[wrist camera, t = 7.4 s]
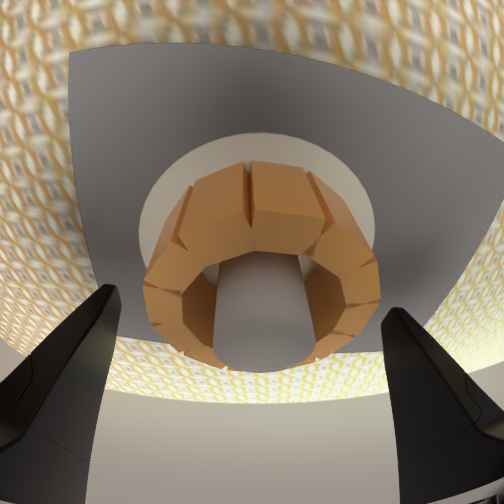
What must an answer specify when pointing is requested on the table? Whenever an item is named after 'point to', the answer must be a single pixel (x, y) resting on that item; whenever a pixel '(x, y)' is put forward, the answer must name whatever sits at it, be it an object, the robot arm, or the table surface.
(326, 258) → the orange ring
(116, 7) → the table surface
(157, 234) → the post board
